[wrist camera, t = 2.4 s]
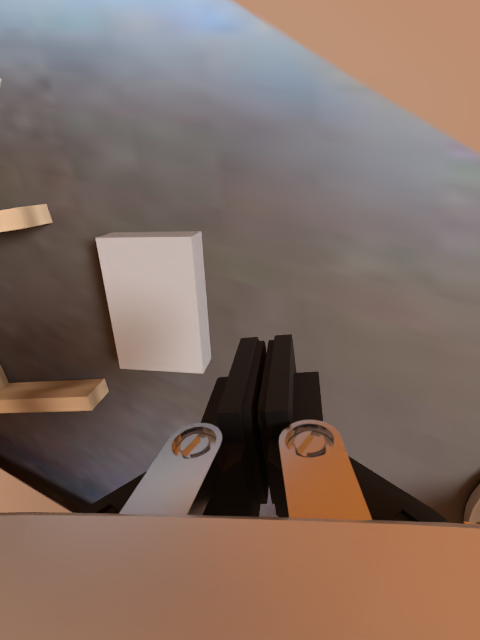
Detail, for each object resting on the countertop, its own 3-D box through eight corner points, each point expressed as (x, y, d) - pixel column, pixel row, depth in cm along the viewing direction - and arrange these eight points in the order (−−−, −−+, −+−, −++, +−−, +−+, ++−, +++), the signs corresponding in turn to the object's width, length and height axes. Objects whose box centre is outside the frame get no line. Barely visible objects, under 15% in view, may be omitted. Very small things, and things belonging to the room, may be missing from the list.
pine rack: (46, 203, 23) (18, 207, 21) (108, 391, 28) (91, 410, 26) (-77, 225, 25) (-114, 230, 23) (2, 395, 31) (-22, 413, 28)
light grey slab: (202, 230, 23) (191, 236, 20) (212, 355, 26) (203, 373, 24) (115, 231, 24) (95, 237, 21) (135, 352, 27) (120, 368, 25)
